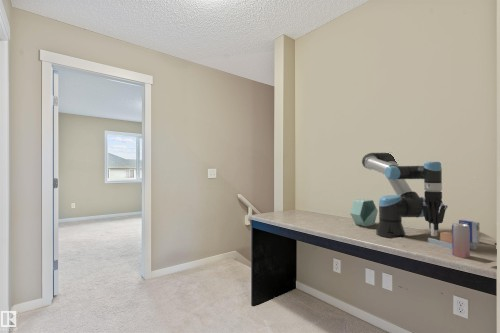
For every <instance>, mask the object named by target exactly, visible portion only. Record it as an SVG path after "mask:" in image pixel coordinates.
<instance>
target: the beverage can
mask: <svg viewBox="0 0 500 333" xmlns="http://www.w3.org/2000/svg"><path fill="white" fill-rule="evenodd" d="M451 232H452V249H451V250H452V253H451V255H452V256H454V257H457V258H460V259H471V249H470V243H471V242H470V228H469V225H466V224H459V222H458V223H457V222H456V223H452V225H451Z"/></svg>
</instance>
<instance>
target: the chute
mask: <svg viewBox="0 0 500 333" xmlns="http://www.w3.org/2000/svg"><path fill="white" fill-rule="evenodd" d="M427 242H428V243H430V244H432V245H436V246H439V247H440V246H441V247H443V248H446V249H447V248H448V249H450V250H452V244H451V243H447V242H443V241H440V239H439V240H438V239H436V238H431V237H427ZM470 250H474V251H475V250H477V244H476V243H475V244H474V243H472V242H470Z"/></svg>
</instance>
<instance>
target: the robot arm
mask: <svg viewBox="0 0 500 333" xmlns="http://www.w3.org/2000/svg"><path fill="white" fill-rule="evenodd" d="M389 153H390V152H389ZM389 153H386V152H370V153H367V154H365V155H364V156H363V157H362V160H361V164H362V166H363V167H364V168H365V169H367V170H369V171H370V170H371V171H372V170H373V171H376V172H378V173H381V174H383V175H384V176H385V177H386V178H387V180H388V182H389V184H390V186H391V187H392V189H393V191H394V192H395V194H394V195H393V194H390V195H382V196H381V197H379V200H378V207H379V208H378V213H379V215H378V216H379V221H378V223H377V228H376V232H375V234H376V235H377V236H379V237H383V238H387V239H389V238H390V239H396V238H405V237H406V232H405V229H404V226H403V223H402V222H403V221H402V218H424V220H425V222H427V223H428V225H429V226H428V228H429V230H430V236H432V237H438V230H439V224H442V223H444V218H445V214H446V210H447V209H448V205H445V203H443V200H442V199H443V192H442V190H443V185H442V184H443V182H442V180H443V178H442V177H443V175H442V172H443V168H442V163H441V162H440V161H425V162H423V165H399V164H397V162H396V161H395V159H394V157H393V156H392V155H391V154H389ZM407 180H423V184H424V187H423V188H424V191H423V192H424V197H423V196H419V194H418V193H417V192H416V191H413V190H412V188H411V187H410V186H409V184H408V183H407Z"/></svg>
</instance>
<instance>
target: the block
mask: <svg viewBox="0 0 500 333" xmlns="http://www.w3.org/2000/svg"><path fill="white" fill-rule="evenodd" d="M439 234H440V236H439V240H440V241H443V242H447V243H451V244H452V231H443V232H442V231H441V232H440V233H439Z"/></svg>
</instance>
